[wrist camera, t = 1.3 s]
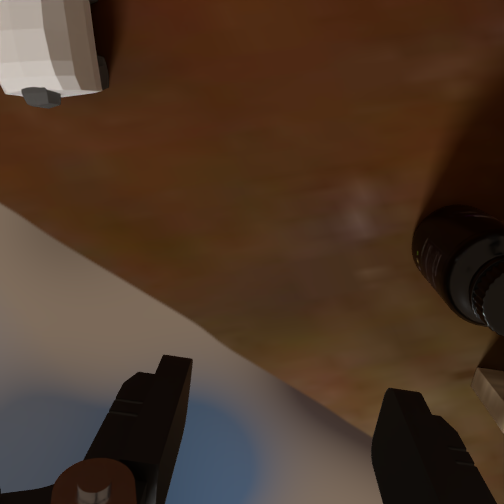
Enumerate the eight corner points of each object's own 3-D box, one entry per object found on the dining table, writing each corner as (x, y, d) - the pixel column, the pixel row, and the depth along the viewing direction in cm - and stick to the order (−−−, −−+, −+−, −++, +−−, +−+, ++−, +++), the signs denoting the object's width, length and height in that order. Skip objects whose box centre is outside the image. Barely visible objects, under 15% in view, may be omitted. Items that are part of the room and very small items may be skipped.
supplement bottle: (489, 193, 37) (586, 235, 26) (497, 271, 39) (591, 342, 28) (402, 213, 38) (458, 263, 26) (415, 289, 40) (472, 366, 28)
